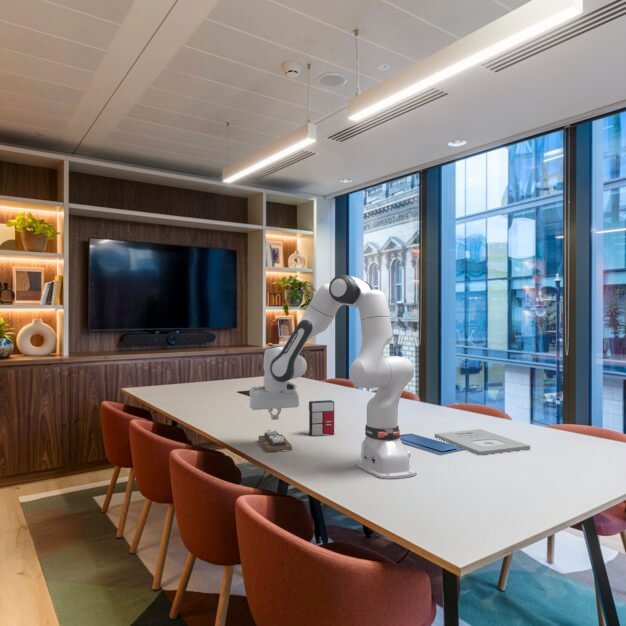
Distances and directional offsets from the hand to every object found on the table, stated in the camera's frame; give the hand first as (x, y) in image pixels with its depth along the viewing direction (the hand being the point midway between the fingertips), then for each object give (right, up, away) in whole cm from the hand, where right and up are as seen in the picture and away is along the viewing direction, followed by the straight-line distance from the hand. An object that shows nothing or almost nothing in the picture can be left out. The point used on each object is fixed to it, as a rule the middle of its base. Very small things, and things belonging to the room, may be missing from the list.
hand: (274, 419), depth 203 cm
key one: (0, -9, +1) cm, 9 cm away
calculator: (+20, -11, +19) cm, 30 cm away
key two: (-2, -8, +7) cm, 10 cm away
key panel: (0, -11, +1) cm, 11 cm away
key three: (+2, -8, -5) cm, 9 cm away
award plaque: (+86, -12, +5) cm, 87 cm away
